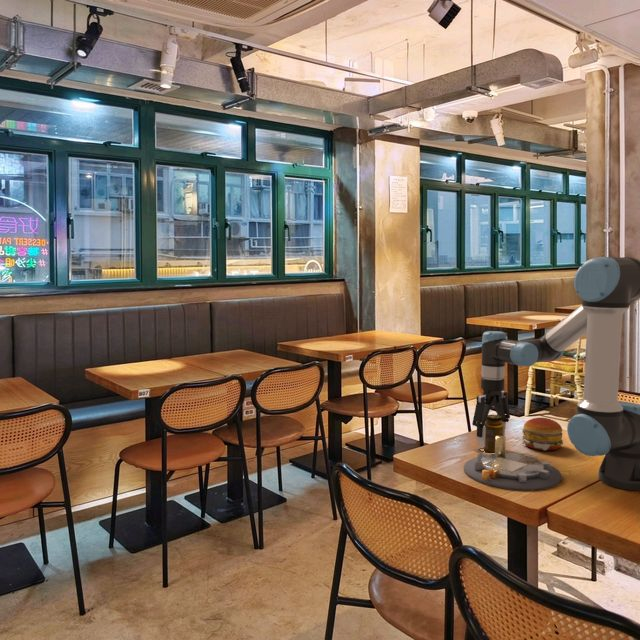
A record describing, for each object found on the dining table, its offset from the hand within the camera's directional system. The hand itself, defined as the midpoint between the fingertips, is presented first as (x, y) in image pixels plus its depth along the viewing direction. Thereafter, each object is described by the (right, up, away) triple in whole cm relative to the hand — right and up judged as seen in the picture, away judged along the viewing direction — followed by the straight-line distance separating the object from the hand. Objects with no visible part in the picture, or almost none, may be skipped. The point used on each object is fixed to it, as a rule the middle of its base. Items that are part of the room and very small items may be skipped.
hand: (490, 443), depth 208 cm
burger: (+19, -3, +5) cm, 20 cm away
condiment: (0, -3, 0) cm, 3 cm away
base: (0, -5, -21) cm, 22 cm away
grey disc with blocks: (0, -4, -21) cm, 21 cm away
